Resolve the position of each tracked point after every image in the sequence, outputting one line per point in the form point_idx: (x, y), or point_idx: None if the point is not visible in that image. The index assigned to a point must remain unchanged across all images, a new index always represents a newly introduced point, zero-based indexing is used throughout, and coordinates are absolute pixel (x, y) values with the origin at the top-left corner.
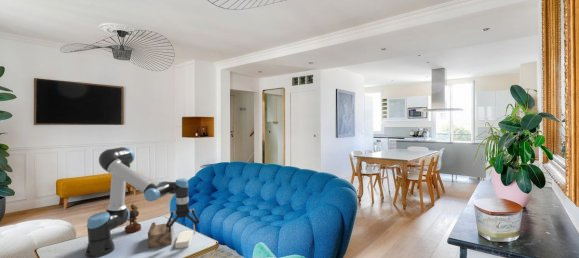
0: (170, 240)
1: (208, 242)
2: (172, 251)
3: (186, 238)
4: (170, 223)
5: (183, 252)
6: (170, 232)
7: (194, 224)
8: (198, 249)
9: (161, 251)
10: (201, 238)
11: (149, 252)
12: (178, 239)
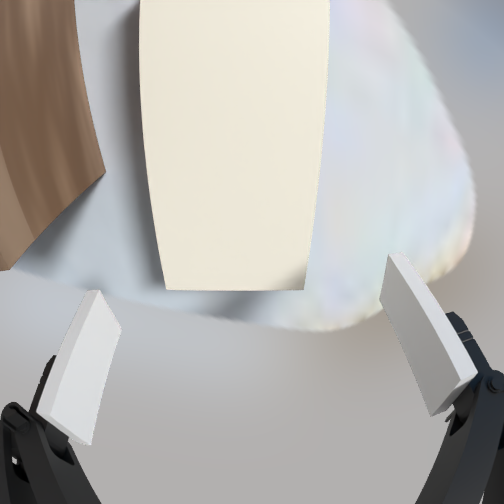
0: (81, 189)
1: (448, 216)
2: (170, 297)
3: (272, 214)
4: (22, 455)
5: (261, 324)
6: (31, 241)
7: (447, 407)
8: (365, 304)
9: (88, 279)
10: (411, 104)
11: (25, 272)
12: (171, 218)
